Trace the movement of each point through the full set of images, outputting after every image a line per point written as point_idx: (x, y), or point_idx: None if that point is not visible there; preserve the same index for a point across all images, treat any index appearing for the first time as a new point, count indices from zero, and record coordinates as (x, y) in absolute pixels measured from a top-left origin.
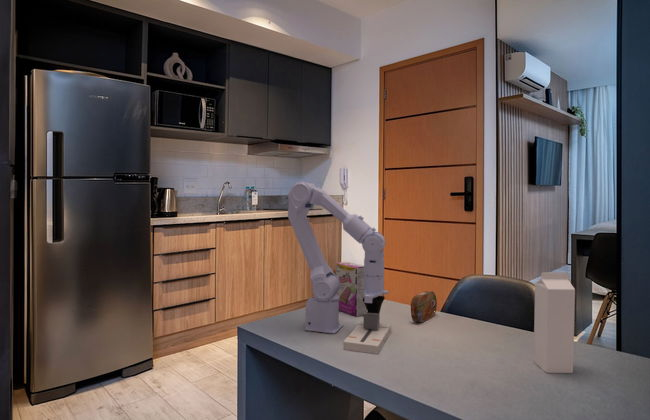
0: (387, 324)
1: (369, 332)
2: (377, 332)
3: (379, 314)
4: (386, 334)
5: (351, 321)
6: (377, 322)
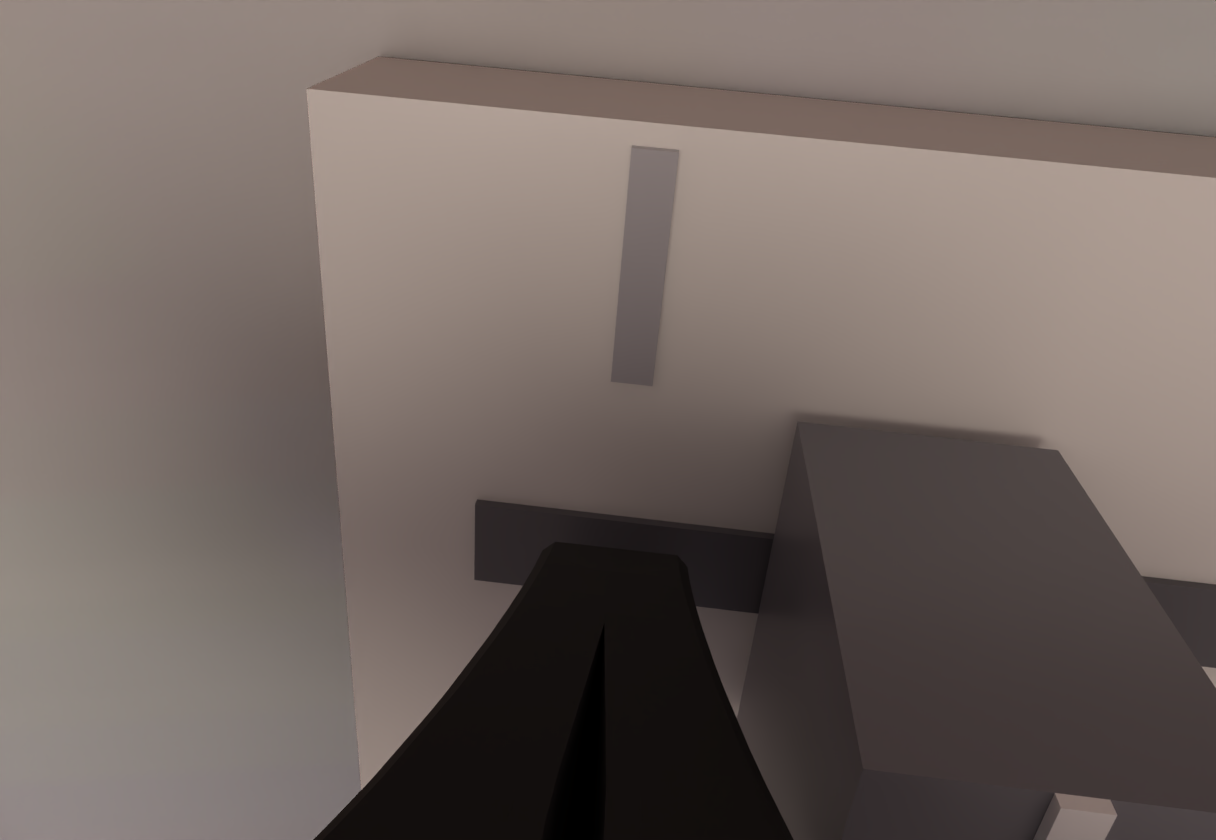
0: (323, 214)
1: (1202, 612)
2: (1156, 427)
3: (872, 734)
4: (1119, 155)
5: (112, 833)
6: (1156, 606)
